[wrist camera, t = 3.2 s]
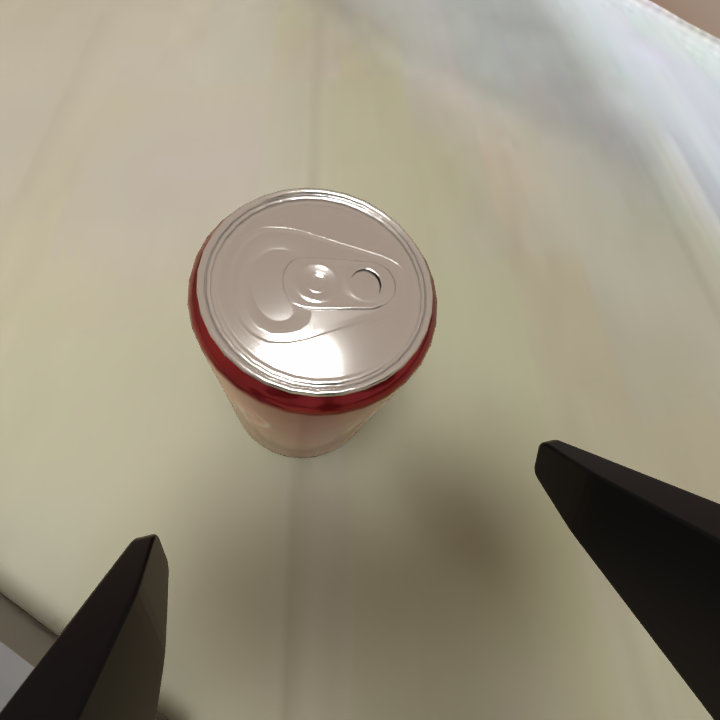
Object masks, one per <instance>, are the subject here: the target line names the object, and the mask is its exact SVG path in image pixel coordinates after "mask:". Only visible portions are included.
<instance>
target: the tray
mask: <svg viewBox="0 0 720 720" xmlns="http://www.w3.org/2000/svg"><path fill="white" fill-rule="evenodd" d="M57 638H58V636H57V635H55V634H54V633H53V632H51V631H50V630H49V629H47V628H46V627H45V626H43V625H42V624H41V623H39V622H38V621H37V620H35V619H34V618H33V617H31V616H30V615H29V614H27V613H26V612H25V611H24V610H22V609H21V608H20V607H18V606H17V605H16V604H14V603H13V602H12V601H10V600H9V599H8V598H6V597H5V596H4V595H2V594H1V593H0V712H1V711H2V709H3V708H4V707H5V705H6V704H7V703H8V701H9V700H10V699H11V698H12V696H13V695H14V694H15V692H16V691H17V690H18V688H19V687H20V686H21V685H22V683H23V682H24V681H25V679H26V678H27V677H28V675H29V674H30V673H31V672H32V670H33V669H34V668H35V666H36V665H37V664H38V662H39V661H40V660H41V659H42V657H43V656H44V655H45V653H46V652H47V651H48V649H49V648H50V647H51V646H52V644H53V643H54V642H55V640H56V639H57ZM155 720H167V719H166V718H165V717H163V716H162V715H161V714H160V713H158V712H157V713H156V719H155Z"/></svg>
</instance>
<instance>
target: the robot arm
mask: <svg viewBox="0 0 720 720" xmlns="http://www.w3.org/2000/svg"><path fill="white" fill-rule="evenodd" d="M535 474H536V476H537V478H538V480H539V481H540V483H541V485H542V486H543V488H544V489H545V491H546V493H547V494H548V496H549V497H550V499H551V501H552V502H553V504H554V505H555V507H556V509H557V510H558V512H559V513H560V515H561V517H562V518H563V520H564V521H565V523H566V524H567V526H568V527H569V529H570V530H571V532H572V533H573V535H574V536H575V537H576V539H577V540H578V541H579V543H580V544H581V545H582V547H583V548H584V549H585V551H586V552H587V553H588V554H589V556H590V557H591V558H592V560H593V561H594V562H595V564H596V565H597V566H598V568H599V569H600V570H601V572H602V573H603V574H604V576H605V577H606V578H607V579H608V581H609V582H610V583H611V585H612V586H613V587H614V589H615V590H616V591H617V593H618V594H619V595H620V597H621V598H622V599H623V601H624V602H625V603H626V604H627V606H628V607H629V608H630V610H631V611H632V612H633V614H634V615H635V616H636V618H637V619H638V620H639V622H640V623H641V624H642V626H643V627H644V628H645V629H646V631H647V632H648V633H649V635H650V636H651V637H652V639H653V640H654V641H655V643H656V644H657V645H658V647H659V648H660V649H661V651H662V652H663V653H664V654H665V656H666V657H667V658H668V660H669V661H670V662H671V664H672V665H673V666H674V668H675V669H676V670H677V672H678V673H679V674H680V676H681V677H682V678H683V679H684V681H685V682H686V683H687V685H688V686H689V687H690V689H691V690H692V691H693V693H694V694H695V695H696V697H697V698H698V699H699V701H700V702H701V703H702V704H703V706H704V707H705V708H706V710H707V711H708V712H709V714H710V715H711V716H712V718H713V719H714V720H720V504H718V503H716V502H713V501H711V500H708V499H705V498H703V497H700V496H698V495H695V494H693V493H690V492H688V491H685V490H683V489H680V488H678V487H675V486H673V485H670V484H668V483H665V482H663V481H660V480H657V479H655V478H652V477H650V476H647V475H645V474H642V473H640V472H637V471H635V470H632V469H630V468H627V467H625V466H622V465H620V464H617V463H614V462H612V461H609V460H607V459H604V458H602V457H599V456H597V455H594V454H592V453H589V452H587V451H584V450H582V449H579V448H577V447H574V446H572V445H569V444H566V443H564V442H561V441H559V440H551V441H547V442H543V443H541V444H540V446H539V449H538V453H537V458H536V463H535ZM168 576H169V569H168V561H167V558H166V556H165V553H164V550H163V548H162V545H161V542H160V539H159V537H158V536H157V535H155V534H152V535H148V536H143V537H139V538H136V539H134V540H133V541H132V542H131V543H130V544H129V546H128V547H127V548H126V549H125V551H124V552H123V553H122V555H121V556H120V557H119V558H118V560H117V561H116V562H115V564H114V565H113V566H112V568H111V569H110V570H109V571H108V573H107V574H106V575H105V577H104V578H103V579H102V581H101V582H100V583H99V584H98V586H97V587H96V588H95V590H94V591H93V592H92V594H91V595H90V596H89V597H88V599H87V600H86V601H85V603H84V604H83V605H82V607H81V608H80V609H79V610H78V612H77V613H76V614H75V616H74V617H73V618H72V620H71V621H70V622H69V623H68V625H67V626H66V627H65V629H64V630H63V631H62V633H61V634H60V635H59V636H58V638H57V639H56V640H55V642H54V643H53V644H52V646H51V647H50V648H49V649H48V651H47V652H46V653H45V655H44V656H43V657H42V659H41V660H40V661H39V662H38V664H37V665H36V666H35V668H34V669H33V670H32V672H31V673H30V674H29V675H28V677H27V678H26V679H25V681H24V682H23V683H22V685H21V686H20V687H19V688H18V690H17V691H16V692H15V694H14V695H13V696H12V698H11V699H10V700H9V701H8V703H7V704H6V705H5V707H4V708H3V709H2V711H1V712H0V720H155V719H156V713H157V706H158V699H159V693H160V686H161V679H162V673H163V666H164V658H165V646H166V625H167V600H168Z"/></svg>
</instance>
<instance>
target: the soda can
mask: <svg viewBox="0 0 720 720" xmlns="http://www.w3.org/2000/svg"><path fill="white" fill-rule="evenodd" d="M188 309H189V314H190V320H191V325H192V329H193V331H194V333H195V336H196V338H197V340H198V343H199V345H200V347H201V350H202V351H203V353H204V355H205V357H206V359H207V361H208V363H209V364H210V366H211V368H212V370H213V372H214V374H215V376H216V377H217V379H218V381H219V383H220V385H221V387H222V388H223V390H224V392H225V394H226V396H227V398H228V400H229V401H230V403H231V405H232V407H233V409H234V411H235V412H236V414H237V416H238V418H239V420H240V422H241V424H242V425H243V426H244V428H245V429H246V431H247V432H248V433H249V435H250V436H251V437H252V438H254V439H255V440H256V441H257V442H258V443H259V444H260V445H262V446H264V447H265V448H267V449H269V450H270V451H272V452H275V453H278V454H281V455H284V456H289V457H297V458H303V457H315V456H318V455H322V454H325V453H328V452H330V451H332V450H334V449H336V448H338V447H340V446H341V445H342V444H343V443H345V442H346V441H347V440H349V439H350V438H351V437H352V436H353V435H354V434H355V433H356V432H357V431H358V430H359V429H360V428H361V427H362V426H363V425H364V424H365V423H366V422H367V421H368V420H369V419H370V418H371V417H372V416H373V415H374V414H375V413H376V412H377V411H378V410H379V409H380V408H381V407H382V406H383V405H384V404H385V403H386V402H387V401H388V400H389V399H390V398H391V397H392V396H393V395H394V394H395V393H396V392H397V391H398V390H399V389H400V388H401V387H402V386H403V385H404V384H405V383H406V382H407V381H408V379H409V378H410V377H411V376H412V375H413V373H414V372H415V371H416V370H417V369H418V367H419V366H420V365H421V363H422V361H423V359H424V358H425V356H426V354H427V352H428V350H429V348H430V346H431V343H432V339H433V335H434V331H435V327H436V318H437V298H436V292H435V286H434V280H433V278H432V275H431V272H430V270H429V267H428V264H427V262H426V260H425V258H424V257H423V255H422V253H421V252H420V250H419V249H418V247H417V245H416V244H415V243H414V241H413V239H412V238H411V237H410V236H409V235H408V234H407V233H406V231H405V230H404V229H403V228H402V227H401V226H400V225H399V224H398V223H397V222H396V221H395V220H393V219H392V218H391V217H390V216H388V215H387V214H386V213H385V212H383V211H382V210H380V209H378V208H377V207H375V206H373V205H371V204H370V203H368V202H366V201H364V200H362V199H359V198H356V197H354V196H351V195H348V194H346V193H341V192H337V191H332V190H327V189H315V188H299V189H289V190H282V191H278V192H275V193H271V194H268V195H264V196H262V197H259V198H257V199H255V200H253V201H251V202H249V203H247V204H245V205H243V206H242V207H240V208H239V209H237V210H236V211H235V212H233V213H232V214H230V215H229V216H228V217H226V218H225V219H224V220H222V221H221V222H220V223H219V225H218V226H217V227H216V228H215V229H214V230H213V231H212V232H211V233H210V235H209V236H208V237H207V238H206V240H205V242H204V244H203V246H202V247H201V249H200V251H199V253H198V254H197V256H196V259H195V262H194V265H193V269H192V272H191V275H190V279H189V288H188Z"/></svg>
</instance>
